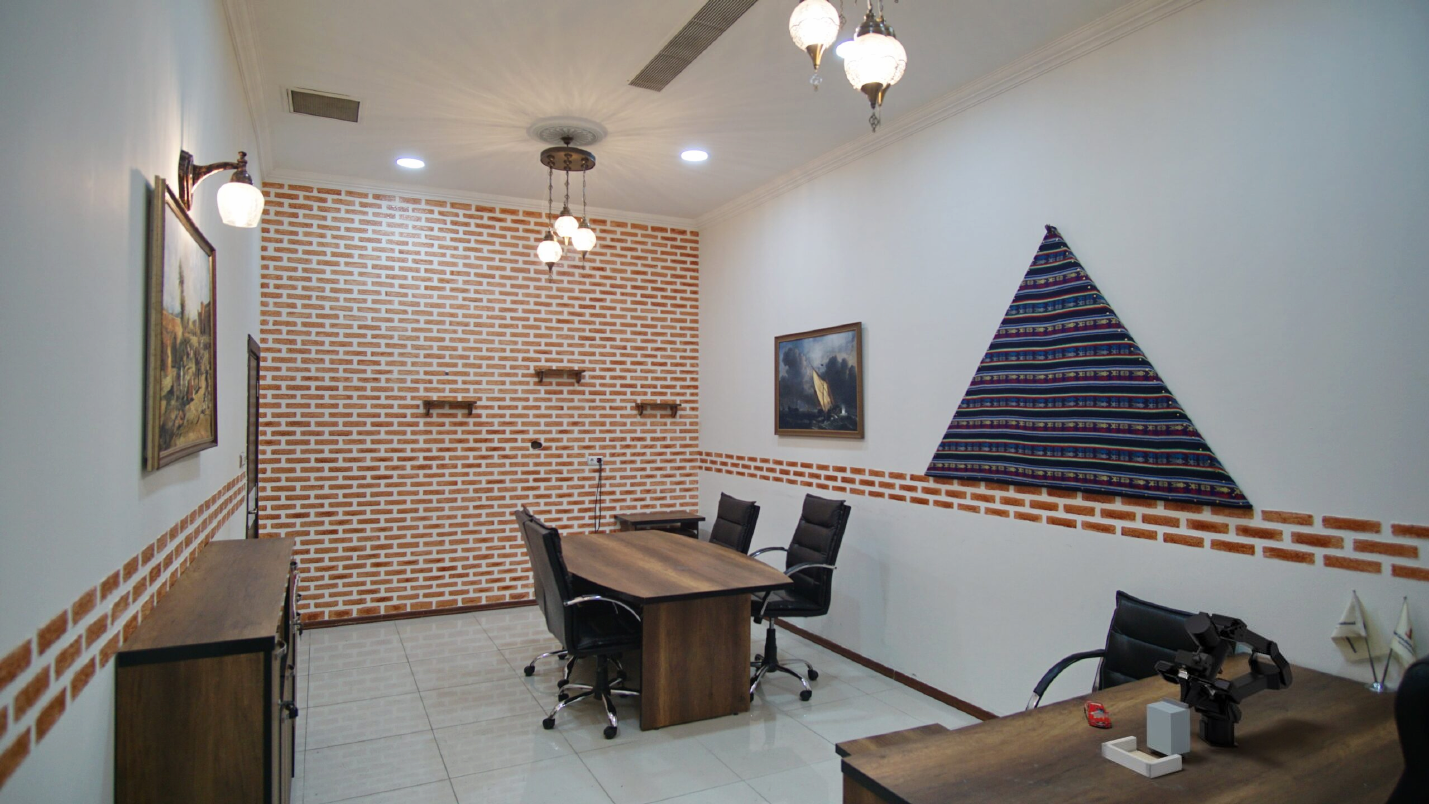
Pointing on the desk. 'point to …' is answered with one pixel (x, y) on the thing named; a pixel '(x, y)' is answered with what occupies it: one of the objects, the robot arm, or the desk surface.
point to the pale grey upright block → (1168, 727)
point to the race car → (1096, 714)
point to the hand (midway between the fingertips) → (1182, 710)
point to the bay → (1139, 758)
